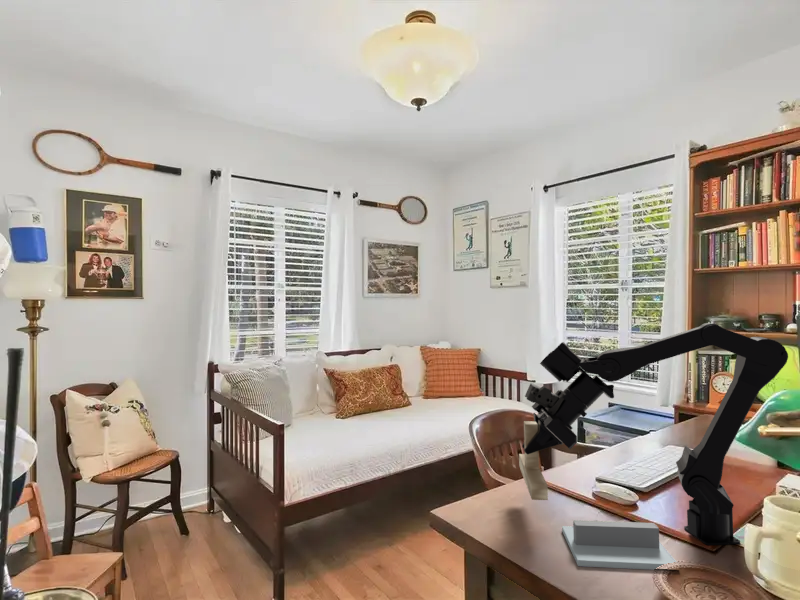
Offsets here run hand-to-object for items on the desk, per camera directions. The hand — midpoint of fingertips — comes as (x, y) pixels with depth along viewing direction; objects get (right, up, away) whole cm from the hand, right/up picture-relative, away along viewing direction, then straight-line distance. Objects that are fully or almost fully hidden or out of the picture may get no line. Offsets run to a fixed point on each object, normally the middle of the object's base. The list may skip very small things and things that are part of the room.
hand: (524, 450), depth 97 cm
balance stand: (+12, -13, -15) cm, 23 cm away
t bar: (+2, -7, 0) cm, 7 cm away
